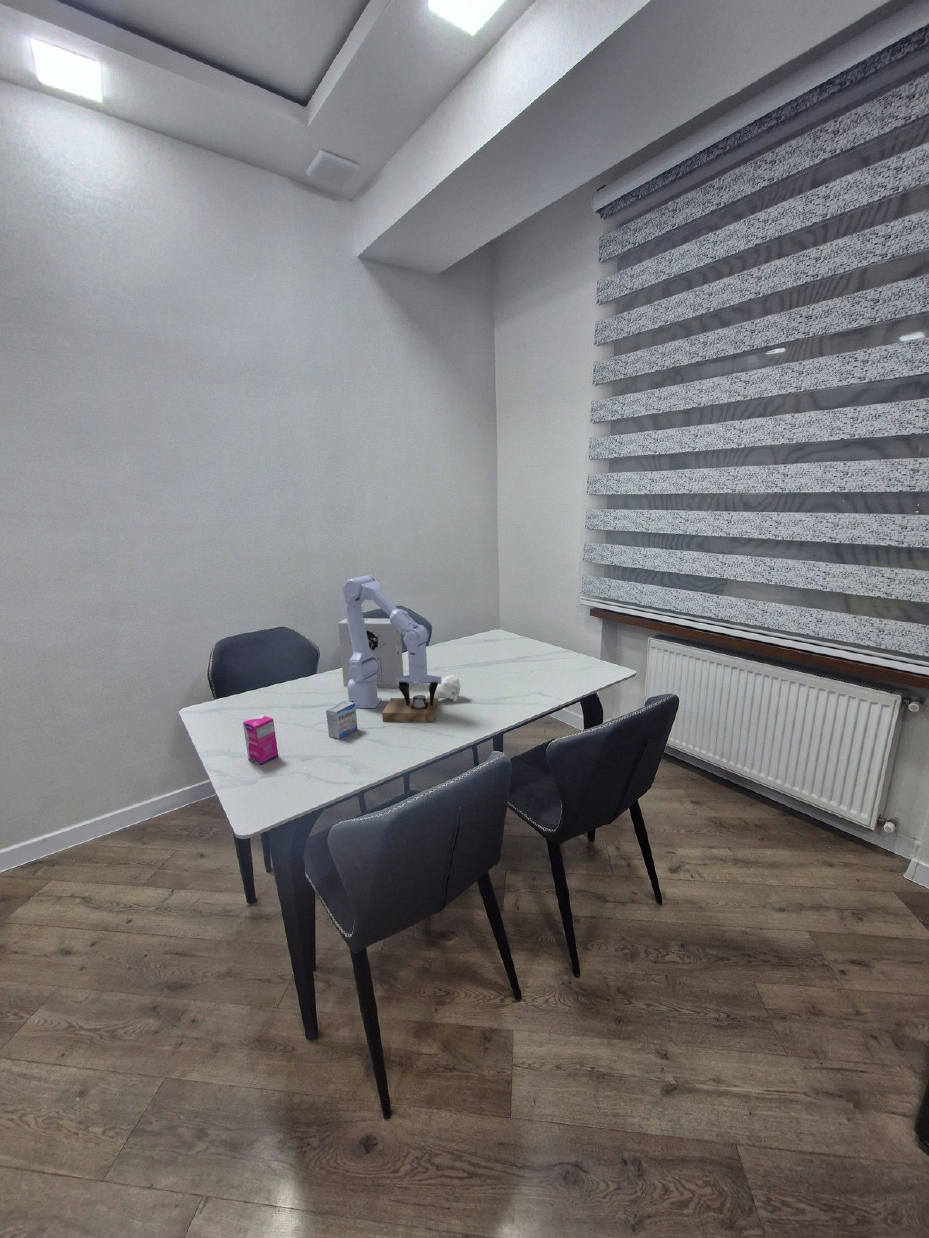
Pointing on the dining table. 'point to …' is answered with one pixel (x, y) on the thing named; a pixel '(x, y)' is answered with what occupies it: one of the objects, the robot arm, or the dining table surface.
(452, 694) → the white lumpy piece
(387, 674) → the cereal box
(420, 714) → the jig
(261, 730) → the supplement box
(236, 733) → the dining table surface
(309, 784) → the dining table surface
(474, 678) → the dining table surface
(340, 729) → the medicine box
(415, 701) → the grey dome knob
